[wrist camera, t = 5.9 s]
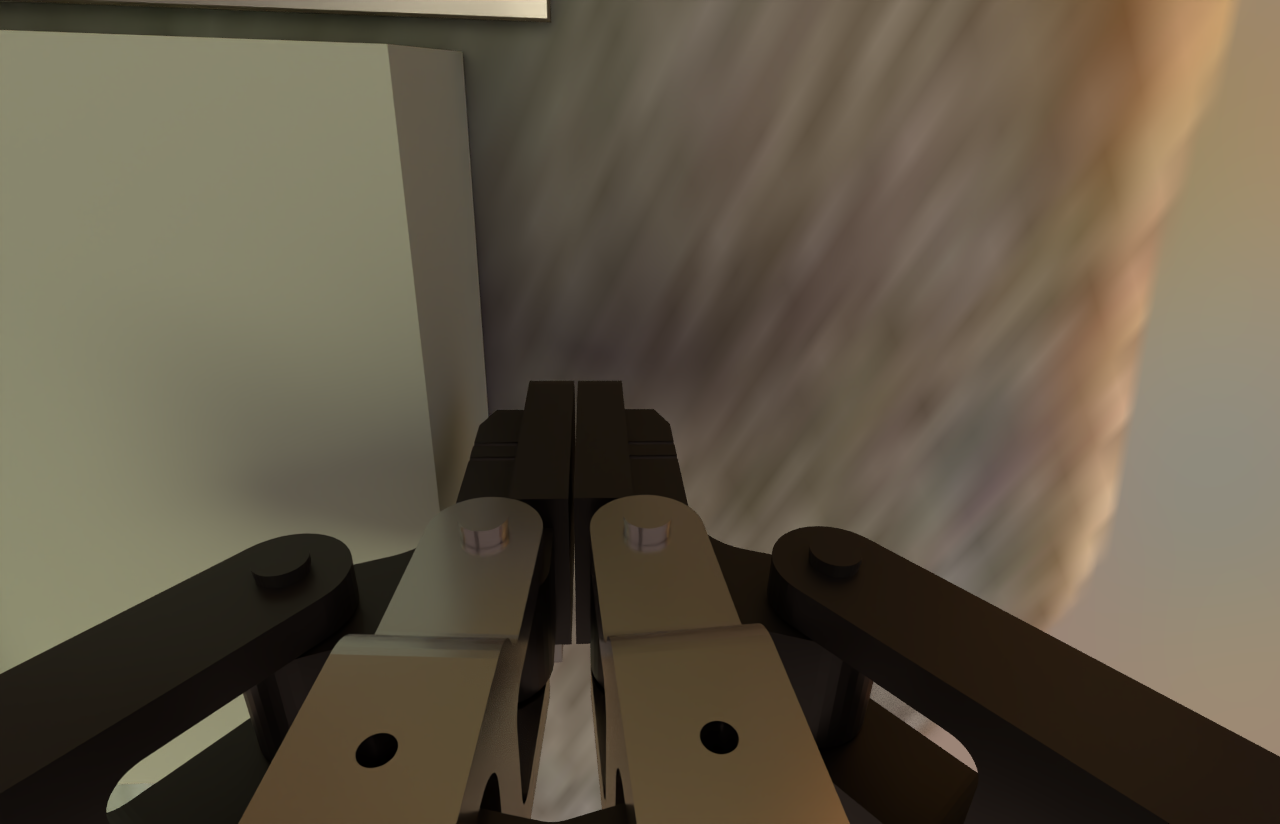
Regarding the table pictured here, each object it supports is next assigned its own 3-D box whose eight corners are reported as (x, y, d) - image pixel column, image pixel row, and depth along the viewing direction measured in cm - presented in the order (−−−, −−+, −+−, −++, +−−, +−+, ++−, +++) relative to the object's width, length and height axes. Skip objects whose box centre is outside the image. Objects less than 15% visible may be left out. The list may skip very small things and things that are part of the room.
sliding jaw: (-104, 31, 11) (-1790, -50, 3) (462, 52, 12) (204, 24, 4) (111, 593, 16) (-344, 1099, 8) (500, 586, 17) (422, 1050, 9)
